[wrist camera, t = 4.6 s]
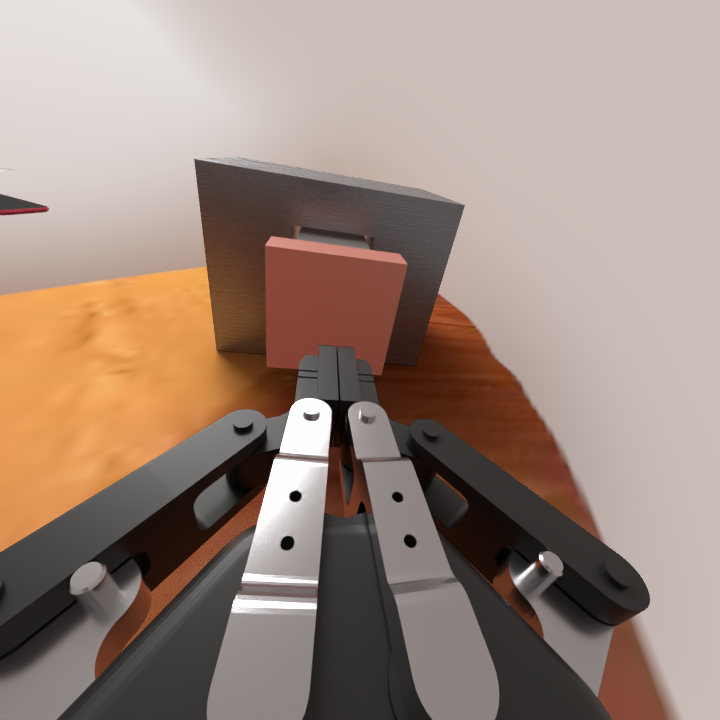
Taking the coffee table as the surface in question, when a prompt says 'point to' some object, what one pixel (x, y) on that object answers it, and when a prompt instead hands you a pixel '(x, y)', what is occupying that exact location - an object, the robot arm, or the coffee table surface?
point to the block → (320, 211)
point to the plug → (329, 296)
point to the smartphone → (19, 206)
